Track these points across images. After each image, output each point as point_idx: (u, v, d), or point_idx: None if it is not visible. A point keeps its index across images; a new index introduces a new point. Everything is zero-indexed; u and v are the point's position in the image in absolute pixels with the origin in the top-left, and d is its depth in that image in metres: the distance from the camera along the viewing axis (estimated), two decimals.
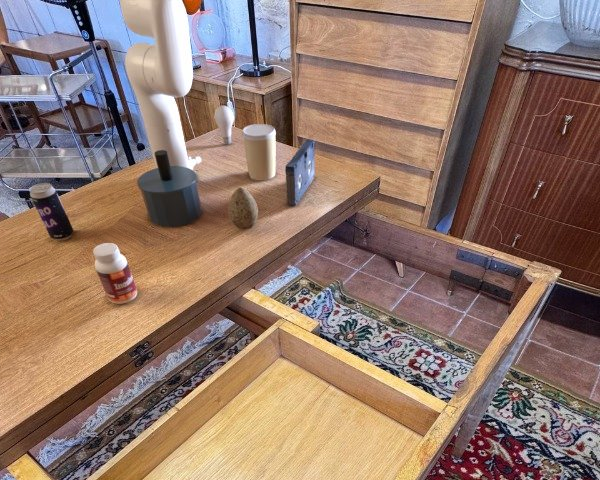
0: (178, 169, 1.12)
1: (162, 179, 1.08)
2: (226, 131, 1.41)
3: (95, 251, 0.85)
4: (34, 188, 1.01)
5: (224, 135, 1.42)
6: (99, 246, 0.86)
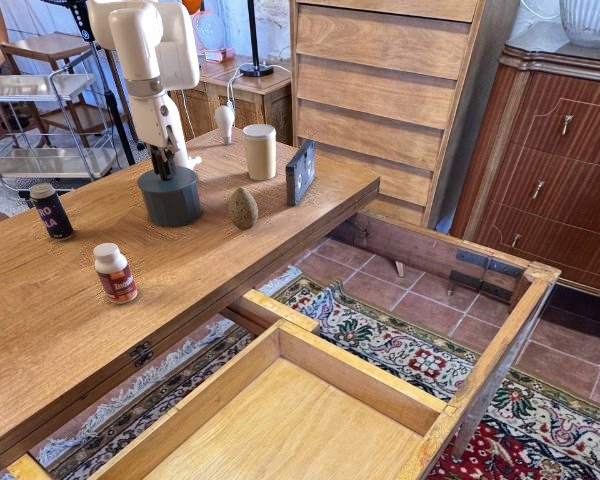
0: (178, 169, 1.12)
1: (162, 179, 1.08)
2: (226, 131, 1.41)
3: (95, 251, 0.85)
4: (34, 188, 1.01)
5: (224, 135, 1.42)
6: (99, 246, 0.86)
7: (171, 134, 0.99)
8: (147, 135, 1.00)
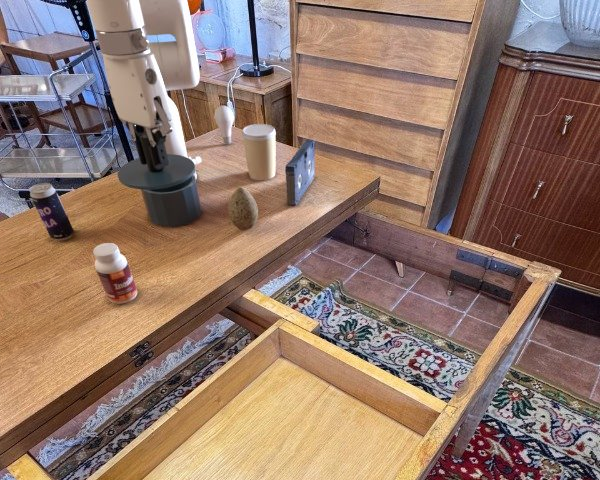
0: (171, 158, 0.87)
1: (150, 170, 0.83)
2: (226, 131, 1.41)
3: (95, 251, 0.85)
4: (34, 188, 1.01)
5: (224, 135, 1.42)
6: (99, 246, 0.86)
7: (161, 109, 0.74)
8: (129, 111, 0.75)
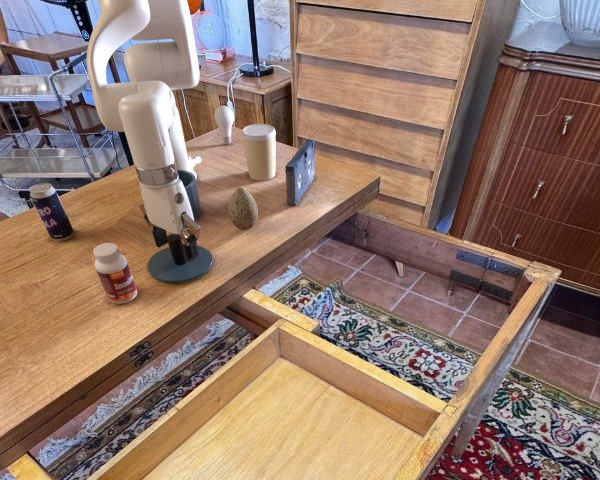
0: None
1: (175, 263, 0.99)
2: (226, 131, 1.41)
3: (95, 251, 0.85)
4: (34, 188, 1.01)
5: (224, 135, 1.42)
6: (99, 246, 0.86)
7: None
8: (159, 221, 0.91)
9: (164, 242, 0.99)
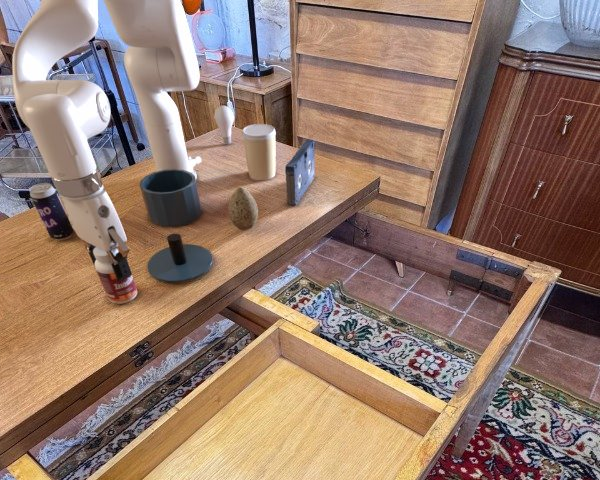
0: (192, 249, 1.03)
1: (175, 263, 0.99)
2: (226, 131, 1.41)
3: (95, 251, 0.85)
4: (34, 188, 1.01)
5: (224, 135, 1.42)
6: None
7: None
8: (86, 236, 0.81)
9: None
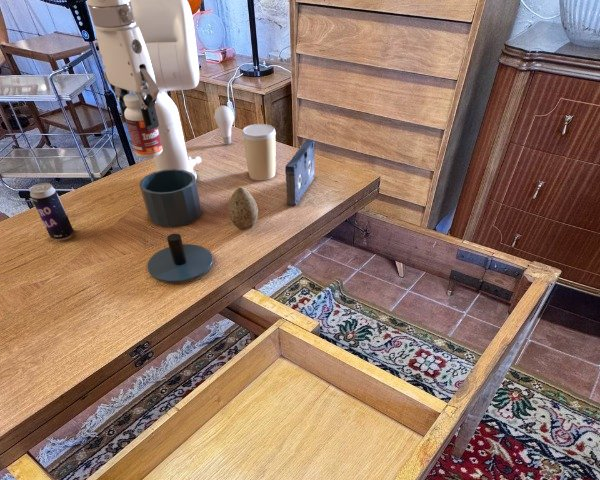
0: (192, 249, 1.03)
1: (175, 263, 0.99)
2: (226, 131, 1.41)
3: (125, 97, 0.91)
4: (34, 188, 1.01)
5: (224, 135, 1.42)
6: (129, 94, 0.92)
7: None
8: (118, 77, 0.87)
9: None
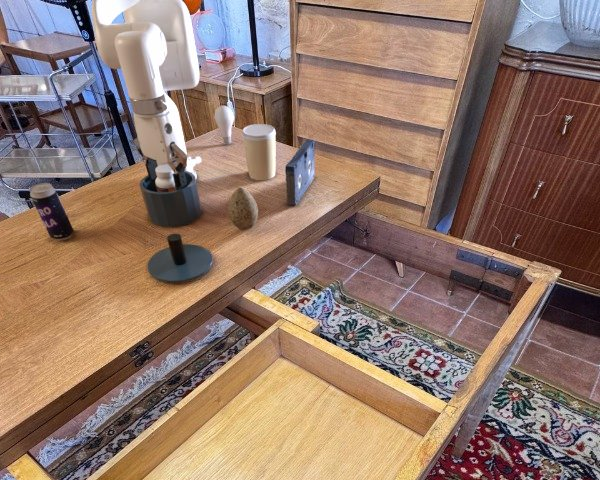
0: (192, 249, 1.03)
1: (175, 263, 0.99)
2: (226, 131, 1.41)
3: (156, 169, 1.07)
4: (34, 188, 1.01)
5: (224, 135, 1.42)
6: (159, 166, 1.08)
7: None
8: (151, 151, 1.03)
9: (156, 175, 1.12)
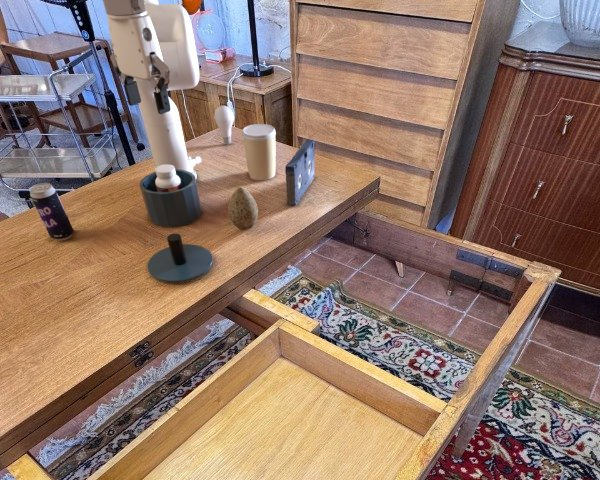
0: (192, 249, 1.03)
1: (175, 263, 0.99)
2: (226, 131, 1.41)
3: (156, 169, 1.07)
4: (34, 188, 1.01)
5: (224, 135, 1.42)
6: (159, 166, 1.08)
7: None
8: (129, 65, 0.90)
9: (136, 101, 0.99)
